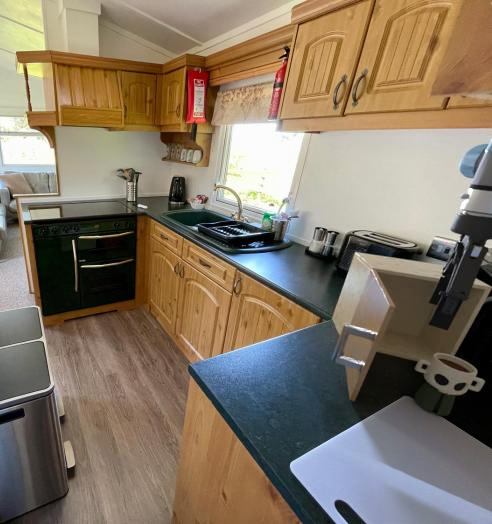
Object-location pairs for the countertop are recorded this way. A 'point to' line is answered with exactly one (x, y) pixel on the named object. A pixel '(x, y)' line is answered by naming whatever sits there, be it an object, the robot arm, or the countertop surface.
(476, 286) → the cupboard
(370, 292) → the cupboard door
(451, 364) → the character mug
